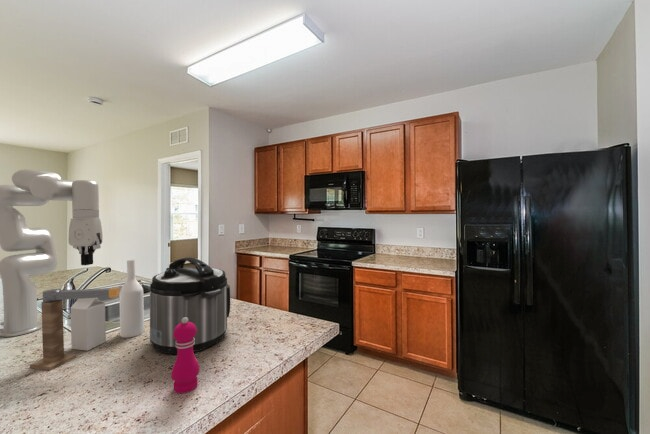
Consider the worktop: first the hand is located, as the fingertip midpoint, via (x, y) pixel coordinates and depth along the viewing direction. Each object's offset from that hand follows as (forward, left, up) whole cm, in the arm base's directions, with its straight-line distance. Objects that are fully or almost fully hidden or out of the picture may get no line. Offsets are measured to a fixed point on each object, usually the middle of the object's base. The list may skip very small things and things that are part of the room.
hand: (87, 264), depth 107 cm
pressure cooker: (+34, +12, -30) cm, 47 cm away
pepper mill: (+51, -16, -30) cm, 61 cm away
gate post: (0, -12, -30) cm, 32 cm away
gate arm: (+8, -9, -9) cm, 15 cm away
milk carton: (0, 0, -30) cm, 30 cm away
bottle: (+7, +12, -30) cm, 33 cm away
